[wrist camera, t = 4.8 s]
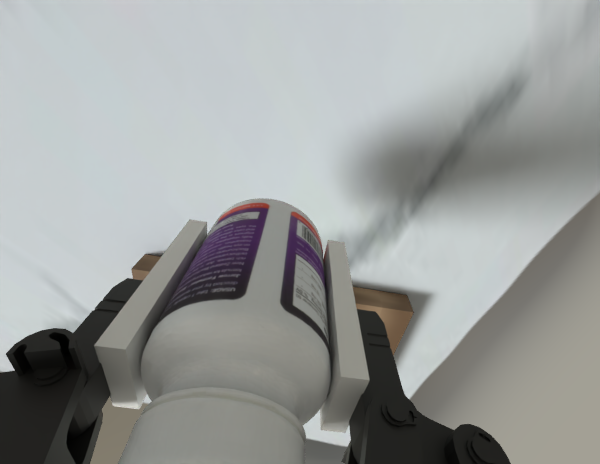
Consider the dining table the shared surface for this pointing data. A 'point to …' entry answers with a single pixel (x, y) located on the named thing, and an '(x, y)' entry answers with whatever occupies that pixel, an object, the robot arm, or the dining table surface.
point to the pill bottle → (239, 346)
